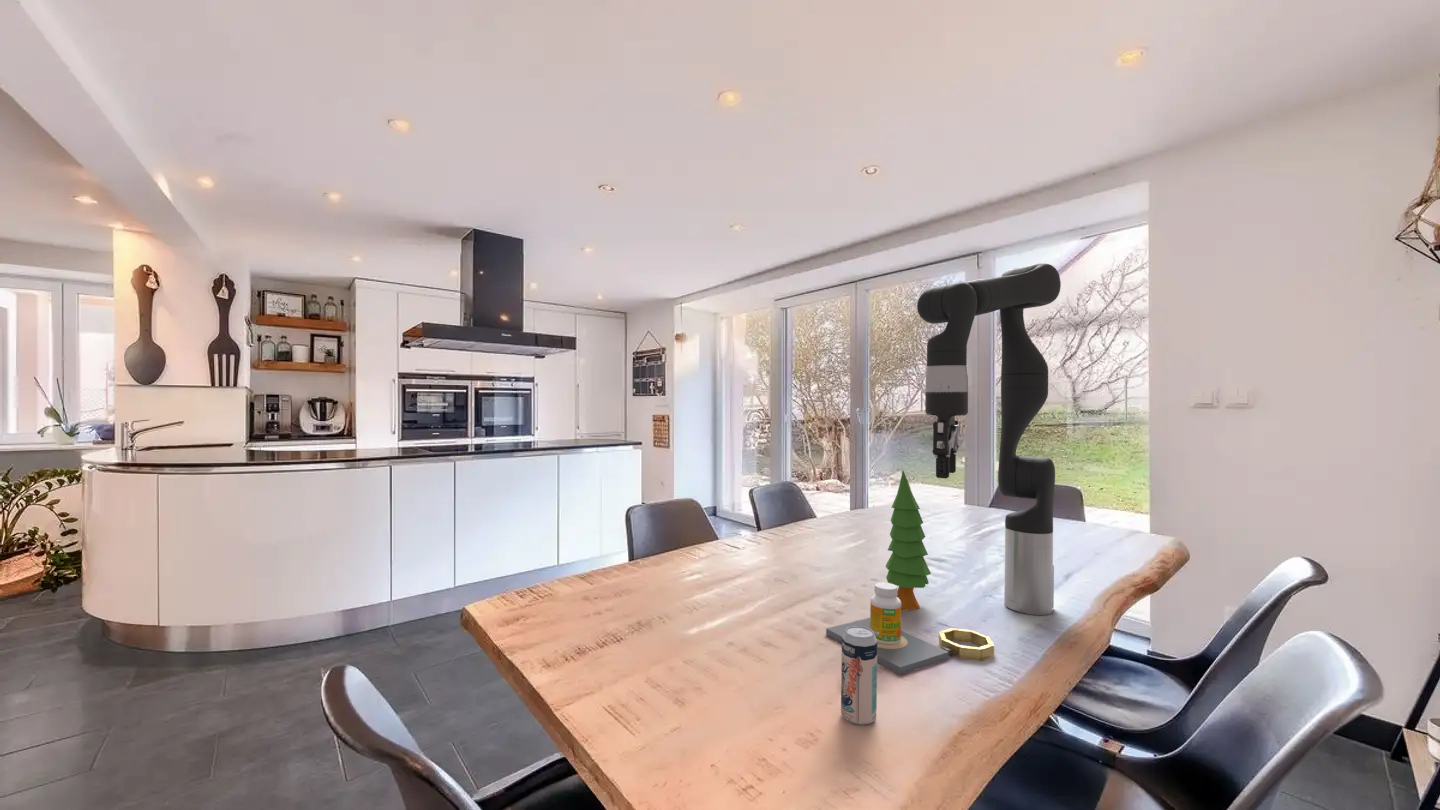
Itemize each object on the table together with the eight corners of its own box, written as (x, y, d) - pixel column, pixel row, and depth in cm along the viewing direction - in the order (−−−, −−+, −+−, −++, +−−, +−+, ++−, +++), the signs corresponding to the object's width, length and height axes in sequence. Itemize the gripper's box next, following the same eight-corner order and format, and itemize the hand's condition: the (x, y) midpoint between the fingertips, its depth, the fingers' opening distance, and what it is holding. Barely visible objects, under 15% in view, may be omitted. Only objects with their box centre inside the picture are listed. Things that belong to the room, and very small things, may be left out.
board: (871, 623, 111) (871, 616, 111) (948, 658, 96) (948, 651, 96) (826, 634, 105) (826, 627, 105) (900, 674, 90) (900, 666, 90)
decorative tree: (876, 603, 123) (878, 468, 123) (899, 594, 129) (901, 466, 129) (916, 616, 115) (918, 472, 116) (939, 606, 121) (940, 469, 122)
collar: (964, 634, 106) (964, 624, 106) (1006, 652, 98) (1006, 641, 98) (925, 646, 100) (925, 635, 100) (967, 666, 93) (967, 654, 93)
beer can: (836, 709, 79) (837, 625, 79) (869, 708, 79) (870, 624, 80) (847, 728, 74) (848, 639, 74) (881, 727, 75) (882, 638, 75)
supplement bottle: (881, 647, 97) (882, 591, 97) (864, 635, 102) (864, 582, 102) (907, 643, 99) (907, 588, 99) (888, 631, 104) (889, 579, 104)
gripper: (963, 389, 97) (962, 481, 97) (972, 390, 109) (971, 472, 109) (918, 390, 101) (918, 478, 101) (932, 390, 113) (931, 469, 113)
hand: (946, 475), depth 105 cm, fingers open, 8 cm apart
